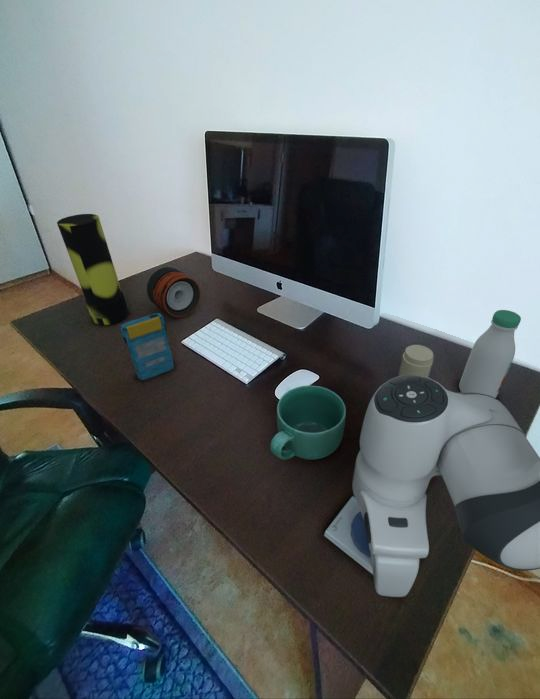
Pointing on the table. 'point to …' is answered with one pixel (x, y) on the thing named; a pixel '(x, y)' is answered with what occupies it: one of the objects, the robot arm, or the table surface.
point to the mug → (308, 423)
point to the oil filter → (173, 291)
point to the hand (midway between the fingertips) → (373, 536)
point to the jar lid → (360, 535)
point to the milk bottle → (491, 356)
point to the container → (94, 267)
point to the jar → (416, 361)
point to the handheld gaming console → (148, 345)
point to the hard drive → (347, 534)
